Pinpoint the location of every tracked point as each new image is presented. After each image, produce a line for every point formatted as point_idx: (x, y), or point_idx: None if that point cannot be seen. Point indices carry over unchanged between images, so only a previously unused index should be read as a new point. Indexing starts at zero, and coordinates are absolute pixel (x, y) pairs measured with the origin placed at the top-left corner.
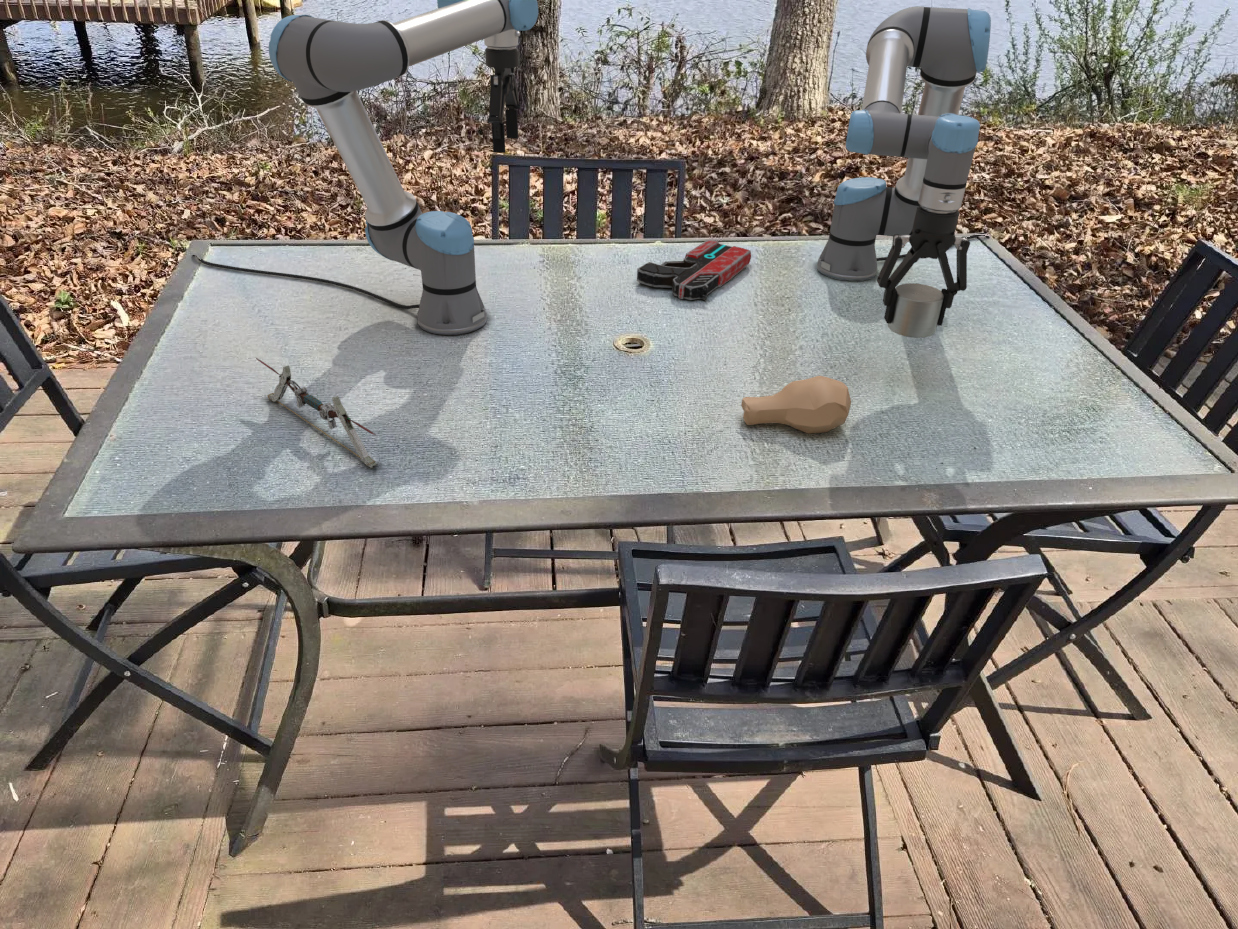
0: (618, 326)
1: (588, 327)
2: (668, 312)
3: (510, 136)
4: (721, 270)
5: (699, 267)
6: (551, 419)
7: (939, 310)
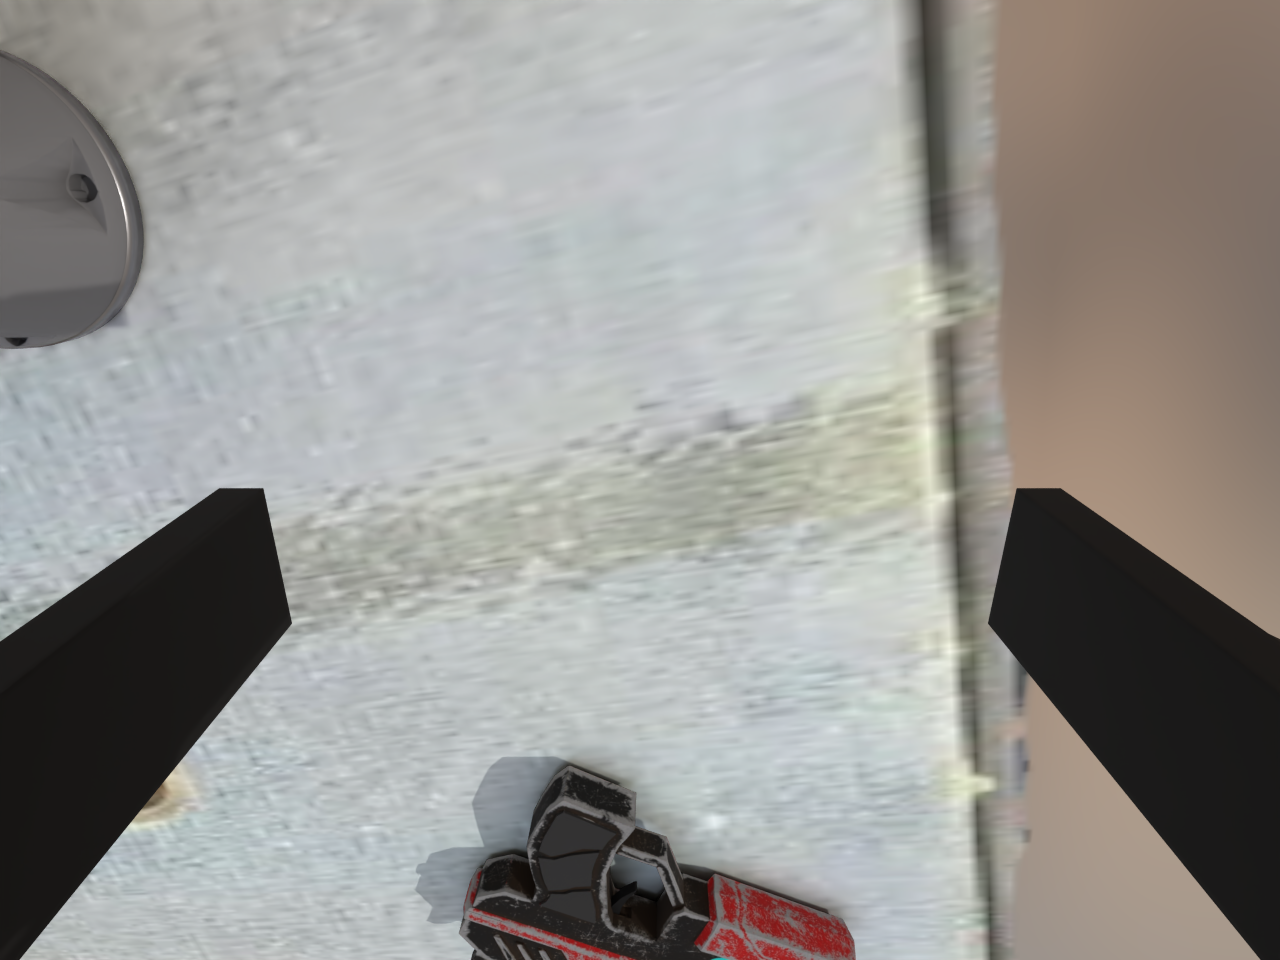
0: (224, 742)
1: None
2: (375, 847)
3: (1013, 549)
4: None
5: (620, 948)
6: None
7: None
